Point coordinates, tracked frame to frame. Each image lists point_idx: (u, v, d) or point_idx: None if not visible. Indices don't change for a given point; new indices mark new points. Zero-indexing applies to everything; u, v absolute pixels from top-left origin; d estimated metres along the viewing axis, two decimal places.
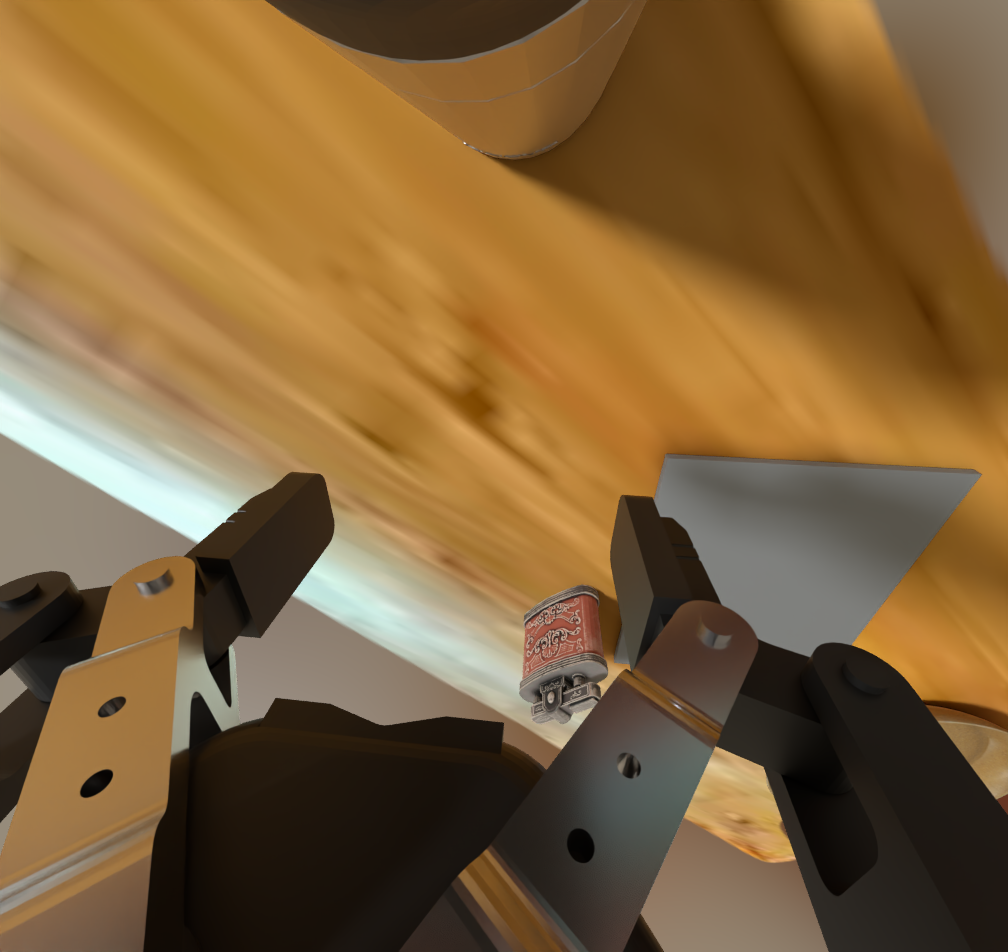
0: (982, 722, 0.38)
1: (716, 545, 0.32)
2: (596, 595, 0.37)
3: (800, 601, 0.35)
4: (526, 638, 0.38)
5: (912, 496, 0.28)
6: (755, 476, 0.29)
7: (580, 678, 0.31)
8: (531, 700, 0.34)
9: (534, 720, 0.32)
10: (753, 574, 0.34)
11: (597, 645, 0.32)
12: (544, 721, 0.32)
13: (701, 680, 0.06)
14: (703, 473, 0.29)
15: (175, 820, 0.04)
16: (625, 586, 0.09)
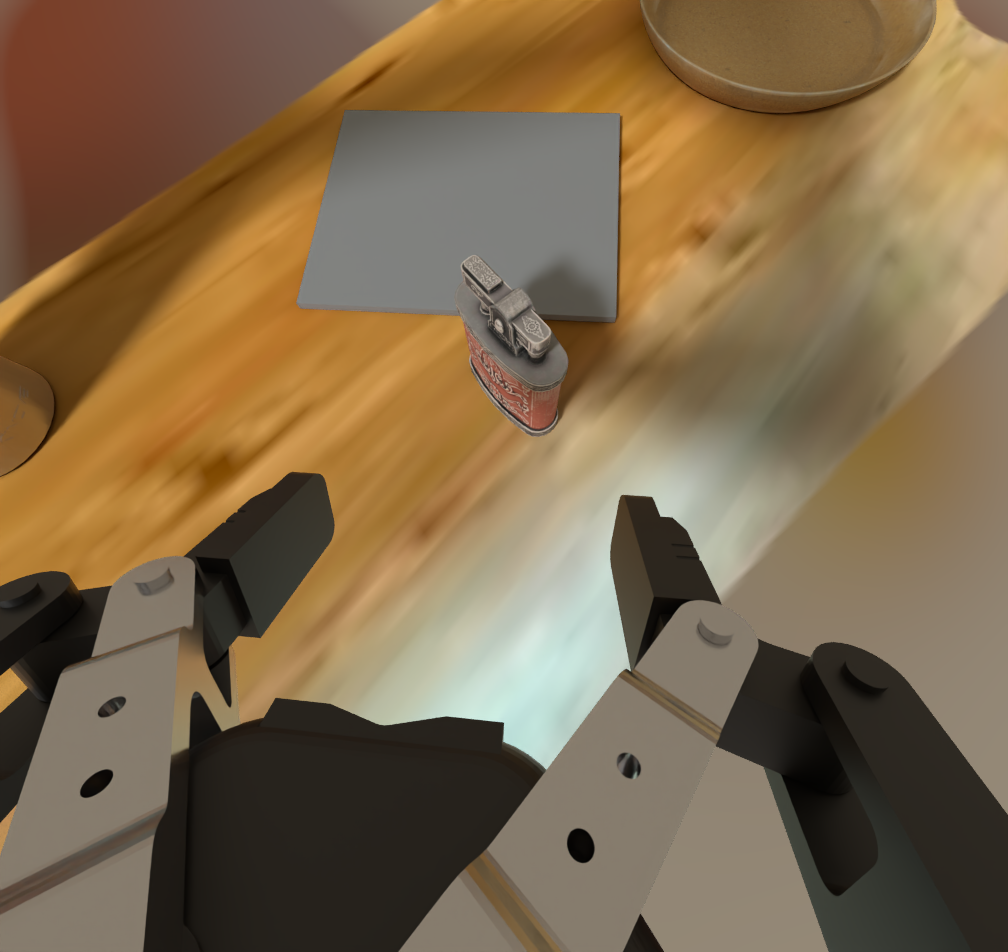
0: None
1: (404, 248, 0.32)
2: None
3: (485, 167, 0.34)
4: (529, 416, 0.26)
5: (361, 137, 0.36)
6: (326, 237, 0.33)
7: None
8: (560, 368, 0.21)
9: (540, 338, 0.20)
10: (445, 212, 0.33)
11: None
12: (541, 325, 0.20)
13: (701, 679, 0.06)
14: (317, 274, 0.32)
15: (175, 820, 0.04)
16: (625, 586, 0.09)
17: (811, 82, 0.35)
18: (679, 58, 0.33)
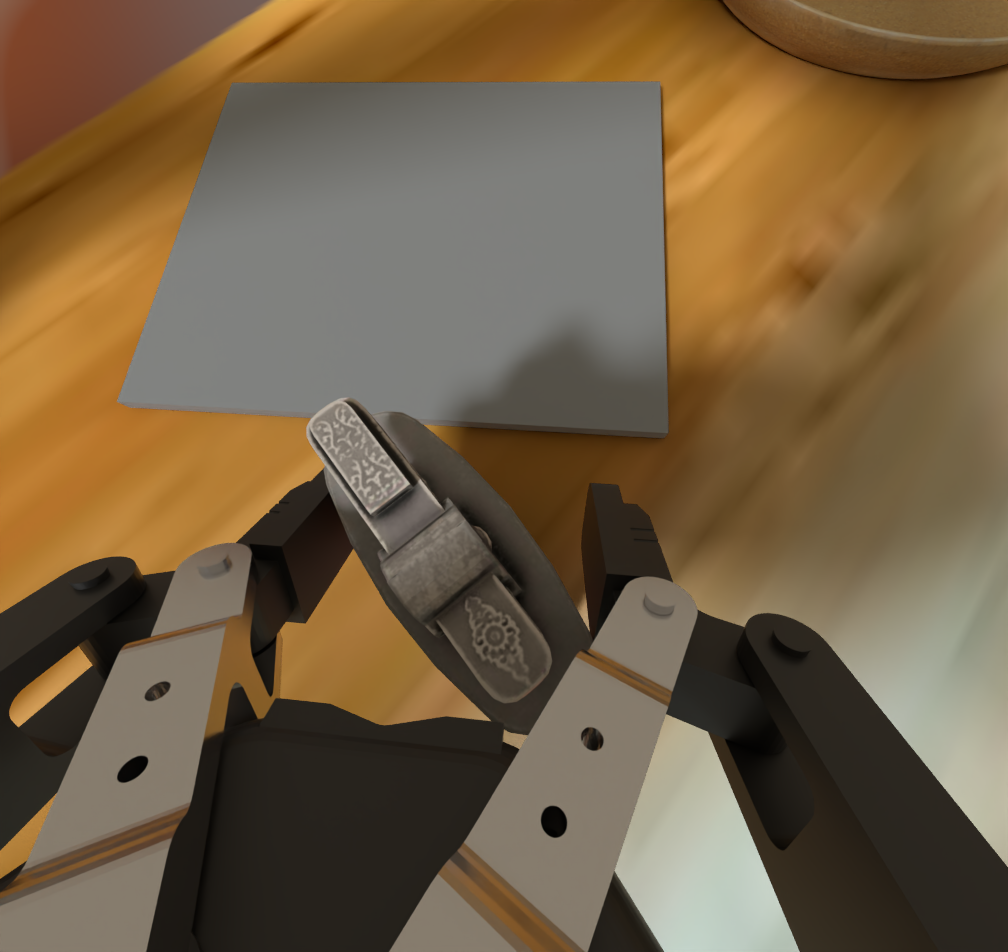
0: None
1: (305, 305, 0.19)
2: None
3: (444, 169, 0.21)
4: None
5: (252, 123, 0.23)
6: (179, 286, 0.20)
7: None
8: None
9: (518, 685, 0.06)
10: (377, 242, 0.20)
11: None
12: (523, 633, 0.07)
13: (650, 650, 0.06)
14: (157, 350, 0.19)
15: None
16: (589, 569, 0.10)
17: (965, 30, 0.22)
18: None
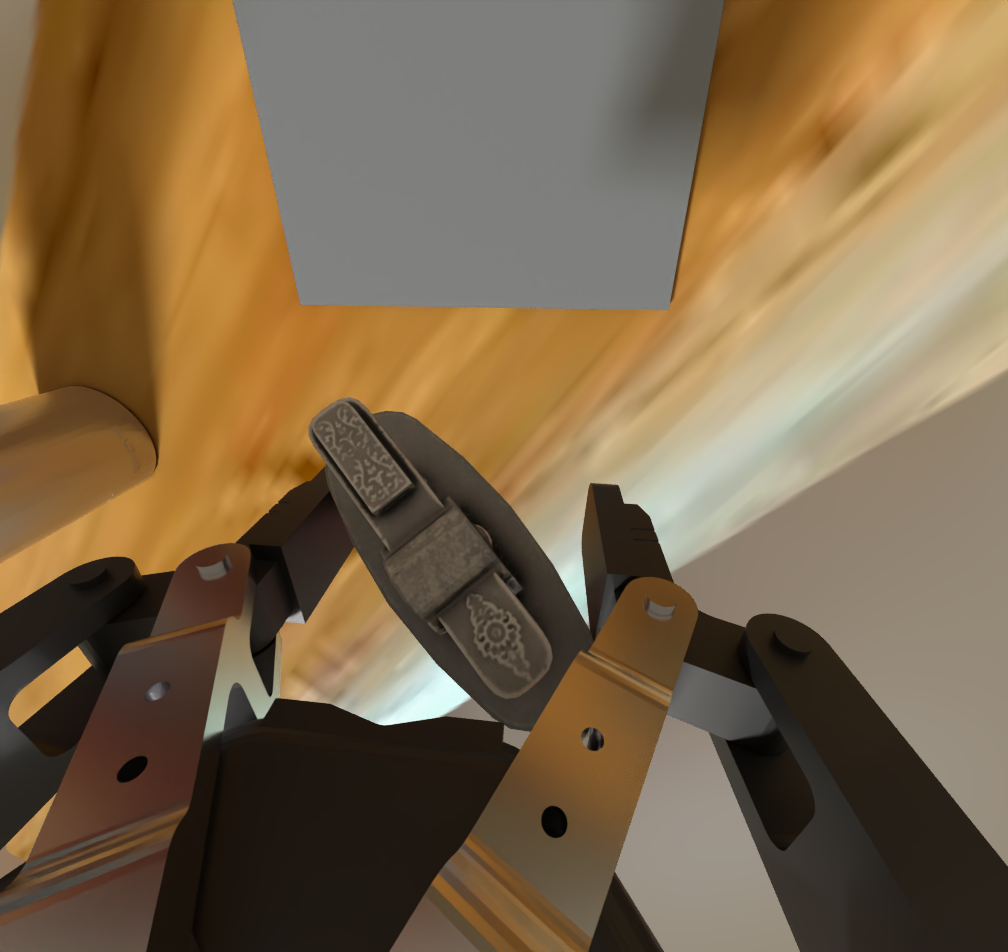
0: None
1: (400, 209, 0.25)
2: None
3: (490, 1, 0.20)
4: None
5: None
6: (292, 194, 0.25)
7: None
8: None
9: (519, 680, 0.06)
10: (442, 128, 0.22)
11: None
12: (523, 629, 0.07)
13: (650, 650, 0.06)
14: (306, 260, 0.26)
15: None
16: (590, 569, 0.10)
17: None
18: None
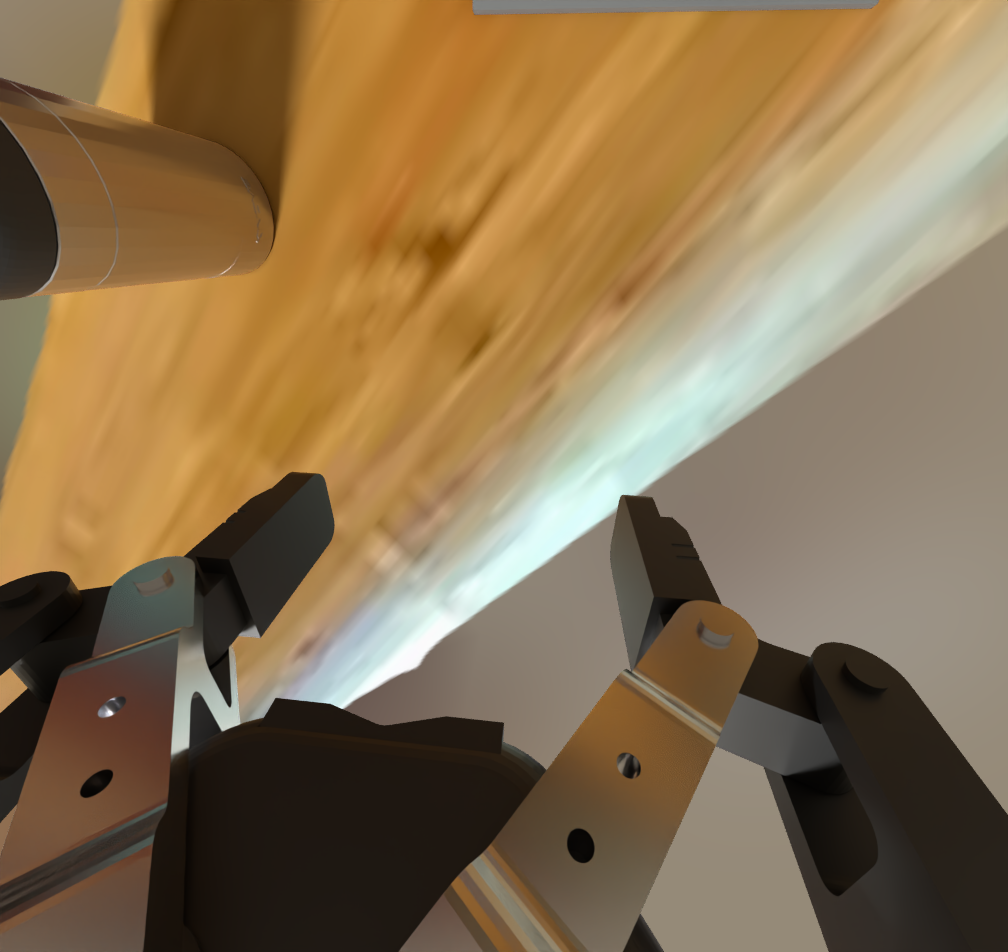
0: None
1: None
2: None
3: None
4: None
5: None
6: None
7: None
8: None
9: None
10: None
11: None
12: None
13: (700, 679, 0.06)
14: None
15: (175, 820, 0.04)
16: (625, 586, 0.09)
17: None
18: None
